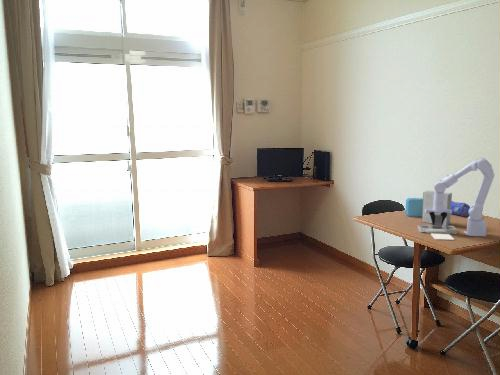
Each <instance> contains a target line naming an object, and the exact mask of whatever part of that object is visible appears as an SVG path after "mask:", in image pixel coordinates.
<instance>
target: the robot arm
mask: <svg viewBox="0 0 500 375" xmlns="http://www.w3.org/2000/svg"><path fill="white" fill-rule="evenodd" d="M493 169H494V168H493V166H492V164H491V163H490V162H489V160H487V159H486V158H485V157H478V158H476V160H473V161H471V162H470V163H468V164H467V165H465V166H463V168H461V169H460V170H459V171H457V172H455V173H450V174H446V176H445V177H444V178H443V179H439V181H438V182H435V183H434V186H433V188H434V190H433V191H434V202H433V209H425V213H429V214H430V217H431V220H432V223H431V225H434V219H435V213H441V215H442V226H444V225H443V222H444V220H445V218H446V216H447V213H452V210H449V209H444V197H445V195H444V192H446V190H447V189H449V188H451V187H452V186H454V184H456V183H458V181H459V179H460V178H461V177H464V176H465V175H467V174H468V173H470V172H472V171H473V172H475V171H476V172H477V171H478V170H479V171H480V172H481V174H482V175H483V178H482V180H481V183H480V185H479V188H478V190H477V194H476V197H475V200H474V201H473V203H472V205H471V206H470V209H469V210H468V213H469V215H468V217H467V223H466V231H465V230H464V231H463V232H464V233H465V235H467V236H469V237H487V221H486V219H483V216H484V215H483V210H484V206H485V202H486V200H487V197H488V194H489V191H490V188H491V187H492V184H493V181H494V178H495V173H494V170H493Z"/></svg>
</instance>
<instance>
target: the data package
mask: <svg viewBox="0 0 500 375" xmlns="http://www.w3.org/2000/svg"><path fill="white" fill-rule="evenodd" d="M422 208H423V197H408V198H406V199H405V215H406V216H407V217H410V218H411V217H422Z"/></svg>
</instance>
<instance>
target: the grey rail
mask: <svg viewBox="0 0 500 375" xmlns="http://www.w3.org/2000/svg"><path fill="white" fill-rule="evenodd" d="M418 229H419V230H418ZM417 230H418V231H419V233H420V232H427V233H426V234H431V233H433V234H450V235H452V234H454V235H457V234H458V229H457V228H456V227H455V226H454V225H447V226H444V225H442V228H433V225H432V224H417Z"/></svg>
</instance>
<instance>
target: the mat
mask: <svg viewBox="0 0 500 375" xmlns="http://www.w3.org/2000/svg"><path fill="white" fill-rule="evenodd" d="M430 235H431V237H433V239H434V240H436V241H437V240H438V241H455V238H454V237H453V236H452V234H448V233H430Z"/></svg>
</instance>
